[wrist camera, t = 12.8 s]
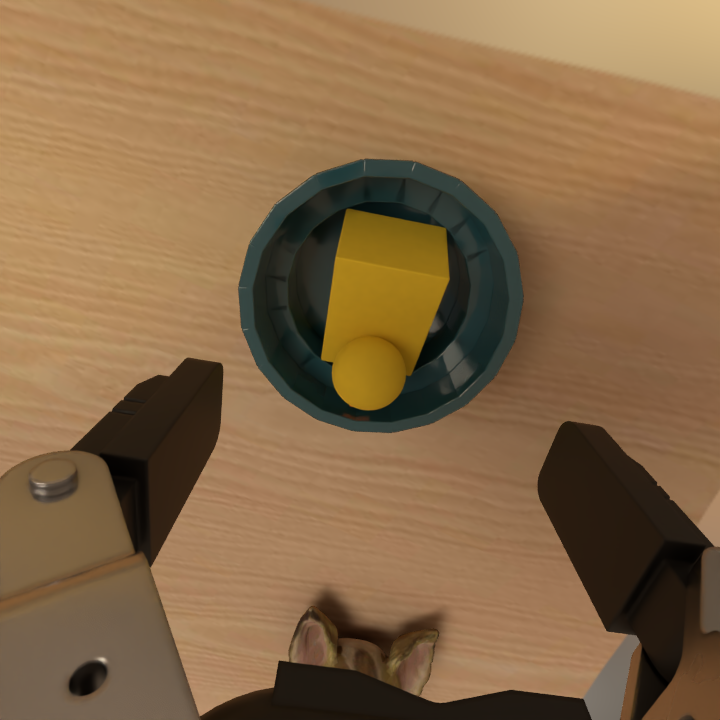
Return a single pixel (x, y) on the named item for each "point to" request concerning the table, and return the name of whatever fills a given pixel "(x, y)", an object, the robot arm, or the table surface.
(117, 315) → the table surface
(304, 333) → the bowl
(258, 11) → the table surface
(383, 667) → the ceramic sculpture
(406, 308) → the duck
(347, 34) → the table surface
